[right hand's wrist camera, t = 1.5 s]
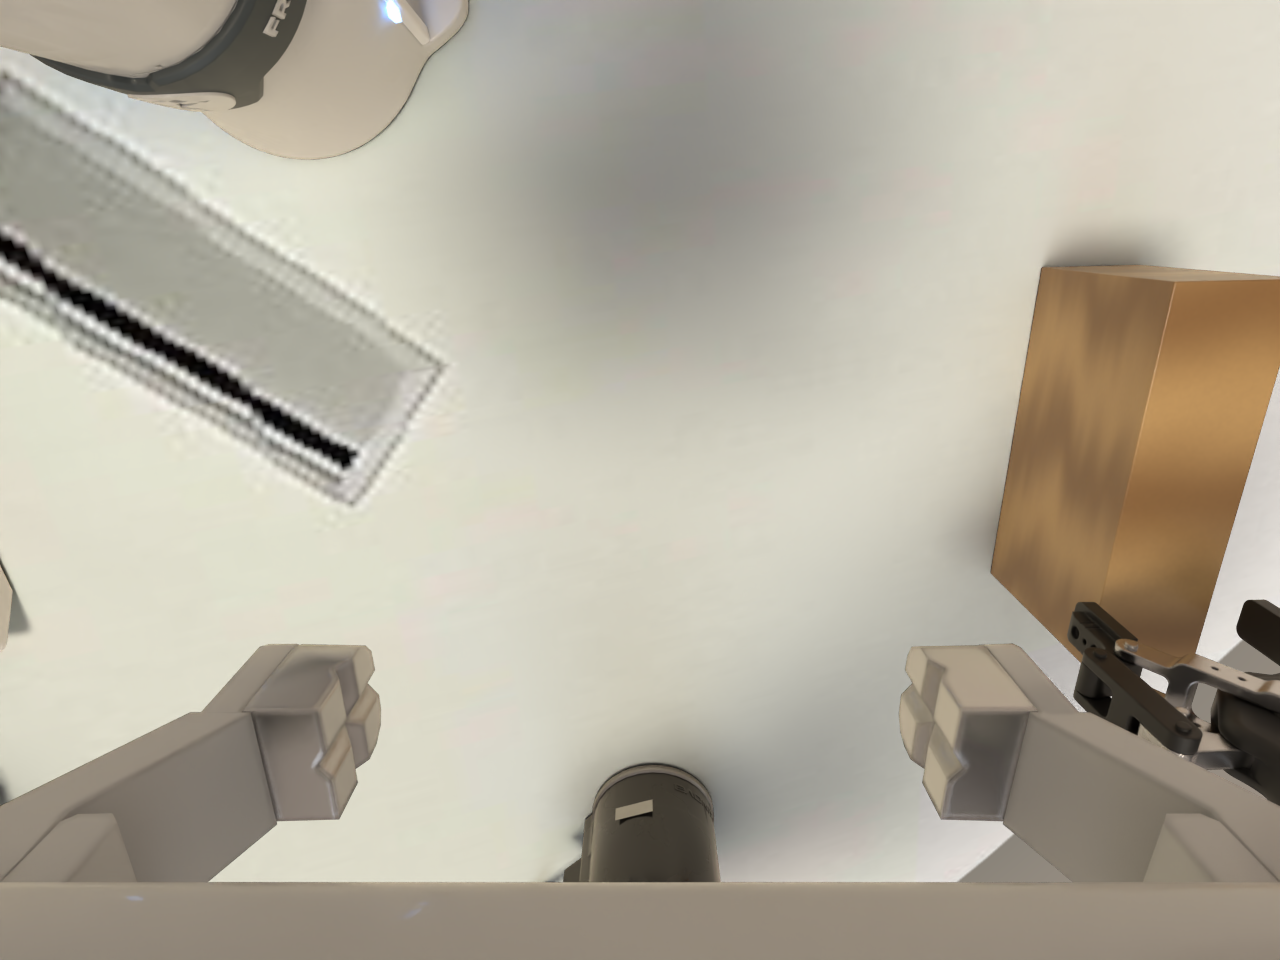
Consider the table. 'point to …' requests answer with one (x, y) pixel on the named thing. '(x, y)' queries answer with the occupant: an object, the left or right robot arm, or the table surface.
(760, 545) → the table surface
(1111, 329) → the box
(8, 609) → the tablet stand
